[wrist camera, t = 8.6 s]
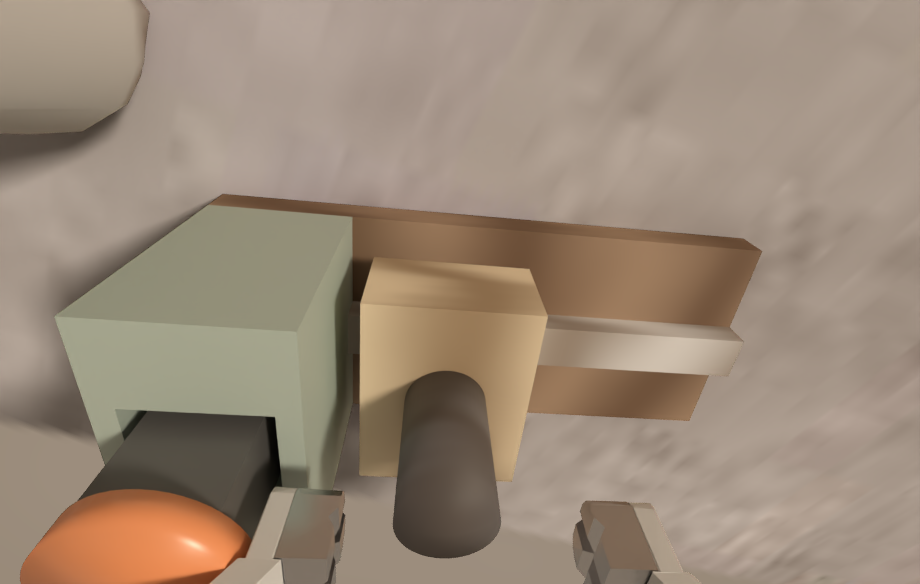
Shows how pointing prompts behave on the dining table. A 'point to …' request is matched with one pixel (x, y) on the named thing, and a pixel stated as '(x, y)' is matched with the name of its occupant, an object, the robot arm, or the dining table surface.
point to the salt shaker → (68, 62)
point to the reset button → (165, 504)
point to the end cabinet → (226, 333)
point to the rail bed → (578, 299)
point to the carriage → (446, 393)
